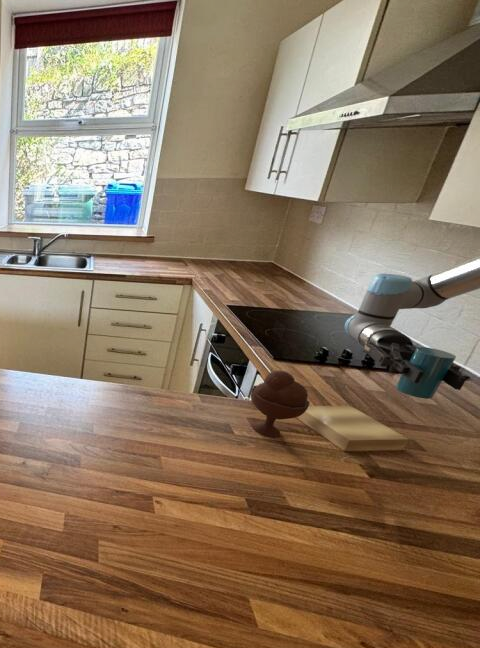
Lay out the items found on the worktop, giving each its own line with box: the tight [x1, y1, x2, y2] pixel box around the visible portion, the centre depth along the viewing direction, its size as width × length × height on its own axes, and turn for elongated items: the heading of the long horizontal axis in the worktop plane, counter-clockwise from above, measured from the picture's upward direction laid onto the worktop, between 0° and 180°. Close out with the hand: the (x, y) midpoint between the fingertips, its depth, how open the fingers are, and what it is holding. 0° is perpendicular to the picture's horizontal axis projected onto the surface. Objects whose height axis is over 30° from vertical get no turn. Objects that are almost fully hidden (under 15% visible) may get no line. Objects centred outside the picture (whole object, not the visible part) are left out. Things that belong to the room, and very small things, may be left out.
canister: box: [395, 346, 457, 400], centre depth 90 cm, size 6×6×10 cm
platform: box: [295, 405, 410, 452], centre depth 95 cm, size 14×14×3 cm
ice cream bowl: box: [250, 370, 310, 439], centre depth 92 cm, size 11×11×15 cm
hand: (439, 380), depth 85 cm, fingers closed on canister, 6 cm apart
